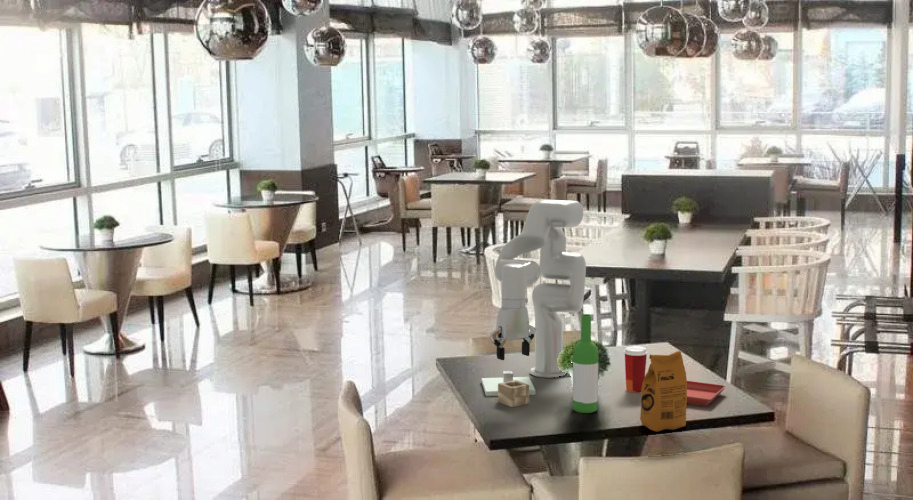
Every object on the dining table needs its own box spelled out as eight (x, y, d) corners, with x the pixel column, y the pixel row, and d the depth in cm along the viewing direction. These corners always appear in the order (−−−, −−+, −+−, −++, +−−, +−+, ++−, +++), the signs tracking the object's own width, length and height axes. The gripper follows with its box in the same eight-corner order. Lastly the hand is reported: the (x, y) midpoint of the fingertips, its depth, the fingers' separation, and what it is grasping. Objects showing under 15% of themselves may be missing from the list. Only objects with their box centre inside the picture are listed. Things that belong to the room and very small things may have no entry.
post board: (528, 381, 378) (528, 365, 377) (535, 394, 362) (535, 378, 361) (481, 382, 377) (481, 366, 376) (486, 396, 361) (485, 379, 360)
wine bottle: (578, 405, 350) (579, 311, 346) (601, 408, 346) (603, 313, 342) (568, 411, 344) (569, 316, 339) (591, 415, 340) (592, 318, 335)
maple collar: (515, 398, 358) (515, 379, 357) (529, 403, 353) (529, 384, 352) (498, 401, 355) (498, 383, 354) (511, 407, 349) (511, 388, 348)
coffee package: (635, 423, 332) (636, 351, 328) (671, 418, 336) (673, 347, 333) (653, 433, 323) (655, 359, 319) (690, 428, 327) (692, 354, 324)
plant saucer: (671, 387, 370) (671, 378, 370) (725, 394, 362) (726, 384, 361) (654, 402, 354) (654, 391, 354) (710, 409, 346) (710, 399, 345)
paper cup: (649, 388, 368) (650, 347, 366) (643, 394, 361) (644, 352, 359) (626, 385, 371) (627, 344, 369) (619, 392, 364) (620, 350, 362)
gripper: (528, 298, 356) (527, 351, 359) (483, 304, 347) (483, 358, 349) (542, 302, 350) (542, 355, 353) (498, 308, 341) (497, 363, 343)
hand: (513, 357), depth 351 cm, fingers open, 9 cm apart
